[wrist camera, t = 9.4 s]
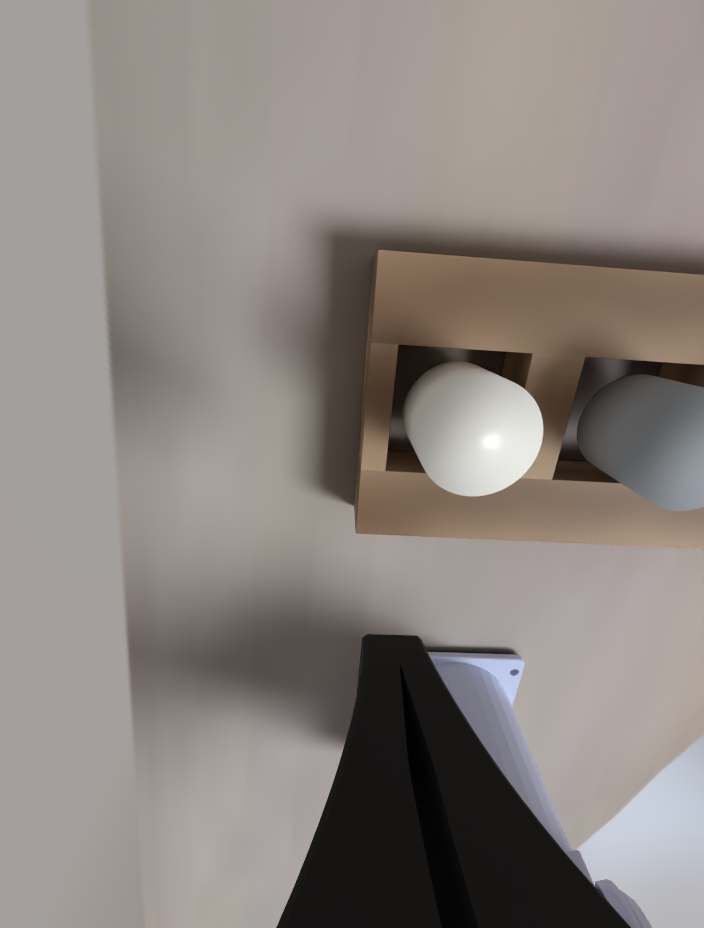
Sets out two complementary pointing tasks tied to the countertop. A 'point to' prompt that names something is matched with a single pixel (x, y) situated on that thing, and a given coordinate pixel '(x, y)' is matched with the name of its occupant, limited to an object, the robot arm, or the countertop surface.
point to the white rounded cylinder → (472, 428)
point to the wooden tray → (540, 373)
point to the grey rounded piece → (648, 438)
